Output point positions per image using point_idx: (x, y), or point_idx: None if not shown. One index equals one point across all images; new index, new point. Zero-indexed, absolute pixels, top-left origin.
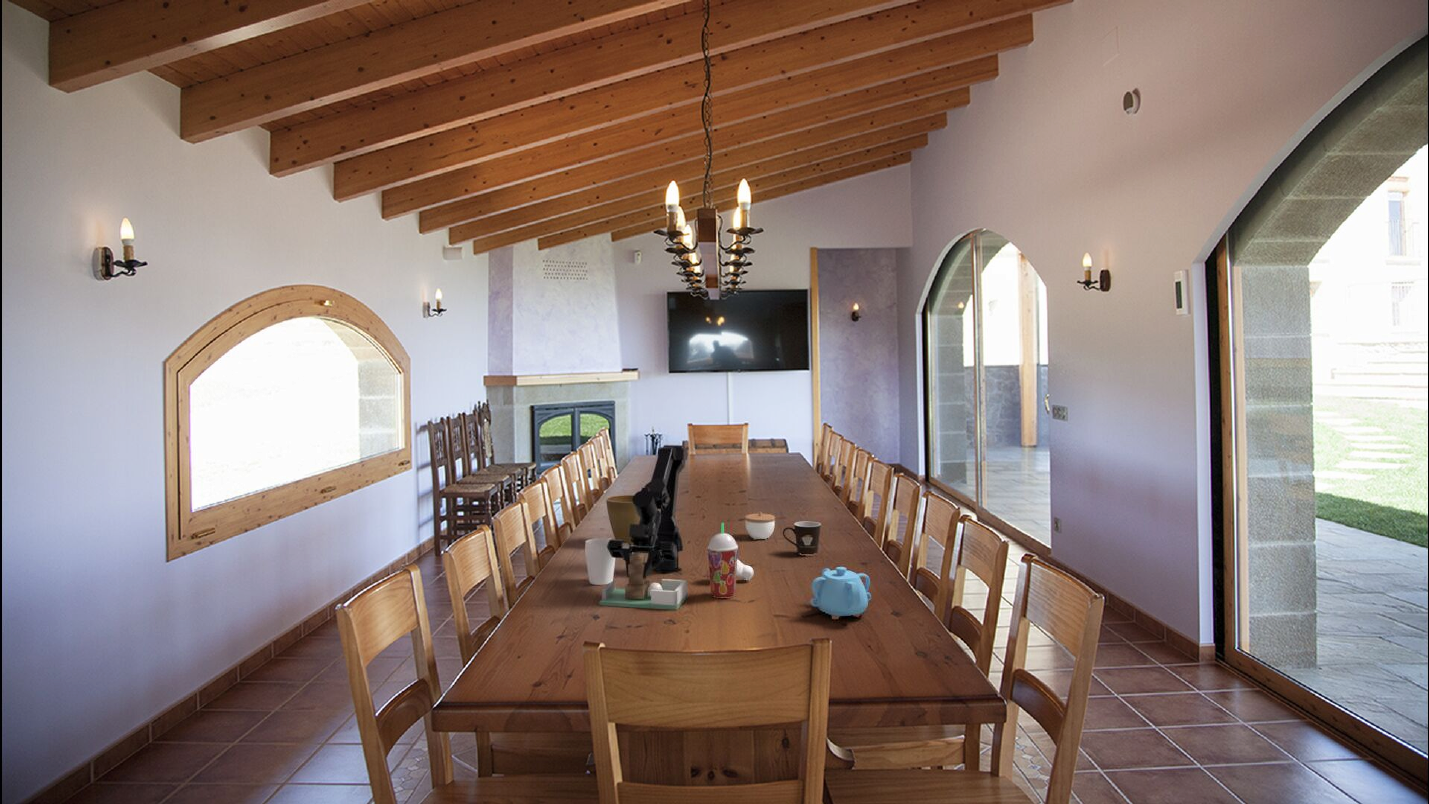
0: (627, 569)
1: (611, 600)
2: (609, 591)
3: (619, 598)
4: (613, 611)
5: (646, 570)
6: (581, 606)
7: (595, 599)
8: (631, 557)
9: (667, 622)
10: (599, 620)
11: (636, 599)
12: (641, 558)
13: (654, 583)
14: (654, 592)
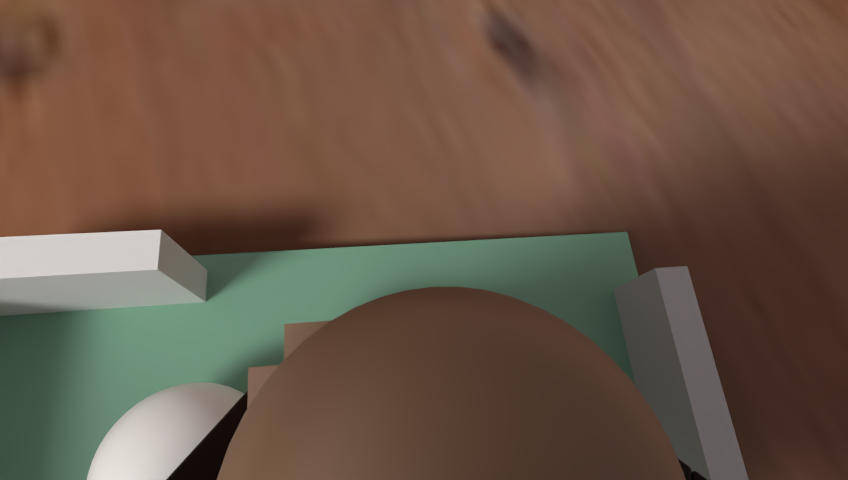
0: None
1: (558, 277)
2: (657, 382)
3: None
4: (461, 151)
5: (213, 434)
6: (708, 196)
7: (721, 364)
8: (581, 336)
9: (33, 34)
10: (467, 4)
11: None
12: (255, 398)
13: (158, 461)
14: (126, 235)
